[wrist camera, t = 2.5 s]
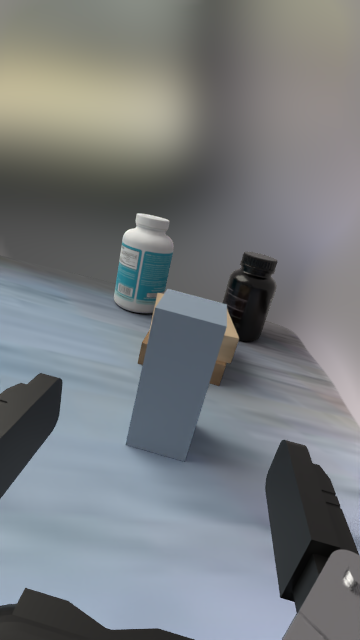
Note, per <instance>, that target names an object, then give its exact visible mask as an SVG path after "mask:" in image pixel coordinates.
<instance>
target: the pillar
mask: <svg viewBox="0 0 360 640" xmlns="http://www.w3.org/2000/svg"><path fill="white" fill-rule="evenodd" d="M226 328H227V304H223V303H220V302H216V301H212V300H208V299H204V298H201V297H197V296H193V295H189V294H186V293H182V292H178V291H174V290H170V289H167V291H166V292H165V294H164V295H163V297H162V298H161V300H160V301H159V303H158V304H157V306H156V307H155V311H154V316H153V320H152V325H151V330H150V334H149V339H148V344H147V348H146V353H145V357H144V362H143V367H142V371H141V376H140V381H139V385H138V390H137V394H136V399H135V404H134V408H133V413H132V418H131V422H130V427H129V432H128V436H127V441H126V445H128V446H132V447H135V448H139V449H142V450H146V451H149V452H153V453H156V454H160V455H163V456H166V457H170V458H173V459H177V460H180V461H184V462H185V459H186V456H187V453H188V450H189V447H190V443H191V440H192V437H193V434H194V431H195V427H196V424H197V421H198V418H199V414H200V411H201V408H202V405H203V402H204V398H205V395H206V392H207V389H208V386H209V382H210V379H211V376H212V373H213V370H214V366H215V363H216V360H217V357H218V353H219V350H220V347H221V344H222V341H223V337H224V334H225V331H226Z"/></svg>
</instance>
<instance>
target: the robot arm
mask: <svg viewBox="0 0 360 640" xmlns="http://www.w3.org/2000/svg"><path fill="white" fill-rule="evenodd" d="M61 392H62V379H60V378H57V377H53V376H49V375H46V374H42V373H40V374H38V375H37V376H36V377H35V378H34V379H33V380H31V381H30V382H29V383H28V384H23V383H20V384H17V385H15V386H13V387H10V388H8V389H6V390H5V391H3V392H2V393H1V394H0V498H1V497H2V496H3V495H4V493H5V492H6V491H7V489H8V488H9V487H10V485H11V484H12V483H13V482H14V480H15V479H16V478H17V476H18V475H19V474H20V472H21V471H22V470H23V469H24V467H25V466H26V465H27V463H28V462H29V461H30V459H31V458H32V457H33V456H34V454H35V453H36V452H37V450H38V449H39V448H40V446H41V445H42V444H43V443H44V441H45V440H46V439H47V437H48V436H49V435H50V433H51V432H52V431H53V429H54V427H55V425H56V423H57V420H58V417H59V412H60V402H61ZM265 489H266V498H267V505H268V513H269V520H270V527H271V534H272V541H273V548H274V555H275V563H276V570H277V577H278V584H279V591H280V598H283V599H287V600H290V601H294V602H295V606H296V612H297V614H296V616H295V617H294V619H293V621H292V623H291V624H290V626H289V628H288V630H287V631H286V633H285V635H284V637H283V638H282V640H360V556H359V553H358V551H357V548H356V545H355V543H354V540H353V538H352V535H351V532H350V530H349V527H348V525H347V522H346V519H345V517H344V514H343V511H342V509H340V504H339V501H338V498H337V496H335V494H336V493H335V491H334V488H333V485H332V483H331V480H330V478H329V477H328V476H327V474H326V473H325V472H324V471H323V469H322V468H321V467H320V465H317V464H313V463H312V461H311V458H310V455H309V452H308V449H307V447H306V446H305V445H301V444H298V443H294V442H290V441H287V440H282V441H281V443H280V445H279V447H278V450H277V452H276V454H275V457H274V459H273V462H272V464H271V466H270V469H269V471H268V474H267V478H266V487H265ZM0 640H194V639H191V638H187V637H184V636H181V635H177V634H174V633H171V632H168V631H164V630H161V629H126V630H110V629H107V628H105V627H103V626H102V625H101V624H99V623H98V622H96V621H95V620H94V619H92V618H91V617H89V616H88V615H87V614H85V613H84V612H83V611H81V610H80V609H78V608H77V607H76V606H74V605H73V604H71V603H70V602H69V601H66V600H63V599H60V598H57V597H53V596H50V595H47V594H44V593H40V592H37V591H34V590H30V589H27V588H25V590H24V592H23V593H22V595H21V597H20V599H19V601H18V603H17V604H8V605H2V606H0Z"/></svg>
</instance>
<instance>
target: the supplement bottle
mask: <svg viewBox="0 0 360 640" xmlns="http://www.w3.org/2000/svg"><path fill="white" fill-rule="evenodd" d="M276 264H277V260H276V259H274V258H271V257H269V256H266V255H262V254H258V253H253V252H244V254H243V258H242V261H241V263H240V265H241V268H240V269H238V270H235V271H234V272H232V274H231V275H230V278H229V281H228V285H227V289H226V292H225V296H224V299H223V304H227V310H228V313H229V315H230V317H231V320H232V322H233V325H234V327H235V330H236V332H237V334H238V337H239V340H240V341H247V342H250V341H255V340H257V339H258V338H259V337H260V335H261V332H262V329H263V326H264V323H265V320H266V317H267V314H268V311H269V308H270V305H271V302H272V300H273V296H274V293H275V290H276V283H275V281H274V279H273V278H272V277H271V275H272V274H274V272H275V267H276Z"/></svg>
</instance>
